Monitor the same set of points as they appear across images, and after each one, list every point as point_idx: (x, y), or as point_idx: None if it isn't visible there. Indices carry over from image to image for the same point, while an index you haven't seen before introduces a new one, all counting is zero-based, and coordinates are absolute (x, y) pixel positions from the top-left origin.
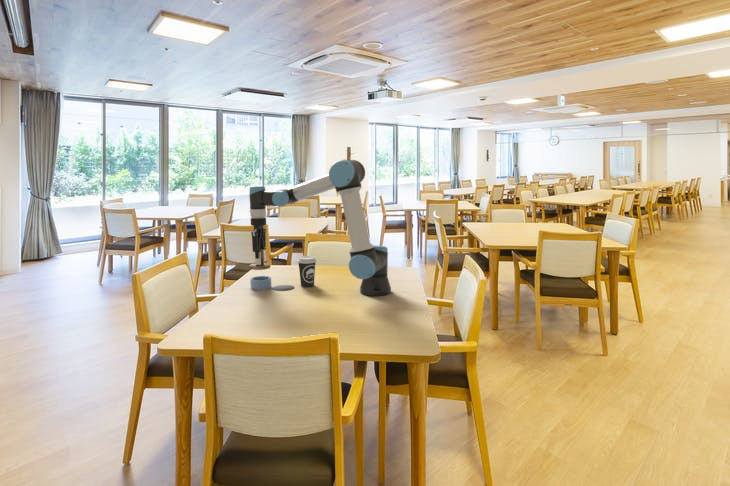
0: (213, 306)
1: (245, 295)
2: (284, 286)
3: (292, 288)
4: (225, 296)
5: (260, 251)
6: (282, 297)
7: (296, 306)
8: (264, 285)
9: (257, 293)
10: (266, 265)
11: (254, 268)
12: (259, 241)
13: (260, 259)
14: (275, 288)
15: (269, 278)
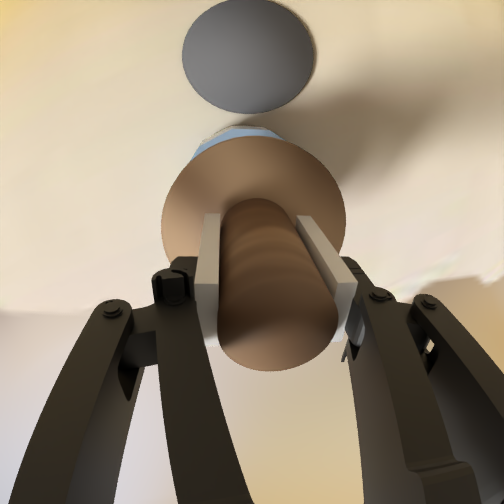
0: (472, 268)
1: (378, 211)
2: (214, 55)
3: (254, 5)
4: (383, 282)
5: (327, 288)
6: (401, 39)
7: (480, 3)
8: None
9: (348, 166)
10: (259, 170)
11: (338, 243)
12: (424, 409)
13: (320, 236)
14: (265, 92)
15: (246, 135)
